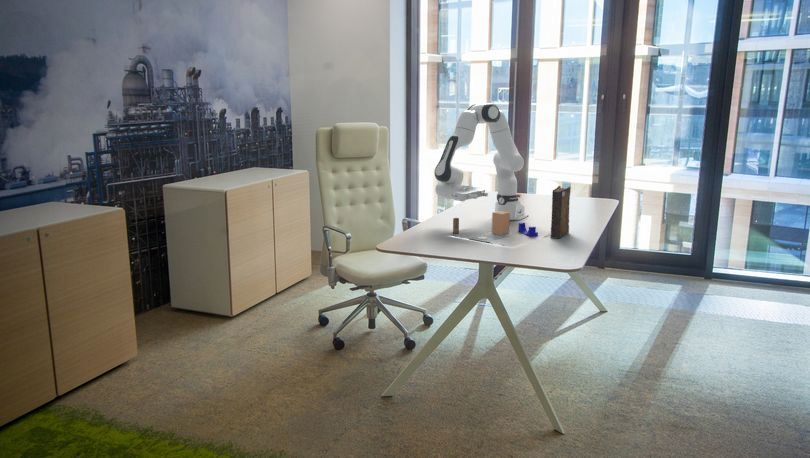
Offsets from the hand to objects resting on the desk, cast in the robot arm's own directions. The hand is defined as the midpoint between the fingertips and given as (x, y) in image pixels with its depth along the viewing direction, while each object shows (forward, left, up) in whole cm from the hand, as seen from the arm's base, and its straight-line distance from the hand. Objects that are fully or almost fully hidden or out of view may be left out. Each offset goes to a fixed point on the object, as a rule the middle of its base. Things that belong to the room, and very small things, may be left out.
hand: (482, 195), depth 339 cm
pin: (+16, -5, -19) cm, 25 cm away
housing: (0, +12, -18) cm, 22 cm away
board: (+8, +12, -19) cm, 24 cm away
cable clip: (-8, +24, -20) cm, 32 cm away
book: (-19, +35, -20) cm, 45 cm away
